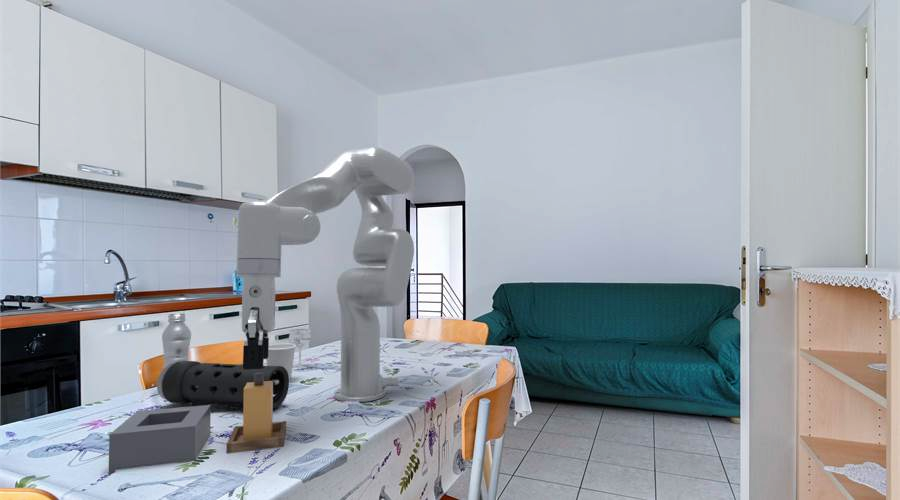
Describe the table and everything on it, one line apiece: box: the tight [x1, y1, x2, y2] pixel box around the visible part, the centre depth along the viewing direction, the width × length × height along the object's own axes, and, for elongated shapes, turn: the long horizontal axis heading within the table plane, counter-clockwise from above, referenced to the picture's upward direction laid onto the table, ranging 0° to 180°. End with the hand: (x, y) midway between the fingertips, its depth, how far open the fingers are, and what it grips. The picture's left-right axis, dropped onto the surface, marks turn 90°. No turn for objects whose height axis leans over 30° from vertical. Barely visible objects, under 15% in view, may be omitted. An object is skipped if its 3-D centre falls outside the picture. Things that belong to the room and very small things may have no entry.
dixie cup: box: [265, 342, 297, 384], centre depth 127 cm, size 8×8×10 cm
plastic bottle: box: [161, 313, 192, 370], centre depth 117 cm, size 6×7×20 cm
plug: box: [242, 373, 274, 441], centre depth 83 cm, size 4×4×12 cm
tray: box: [225, 420, 287, 454], centre depth 83 cm, size 9×9×2 cm
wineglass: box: [288, 328, 312, 368], centre depth 144 cm, size 7×7×12 cm
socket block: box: [108, 405, 212, 474], centre depth 78 cm, size 12×12×6 cm
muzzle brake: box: [156, 360, 290, 411], centre depth 104 cm, size 10×28×10 cm, turn 78°
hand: (256, 363), depth 83 cm, fingers open, 9 cm apart
